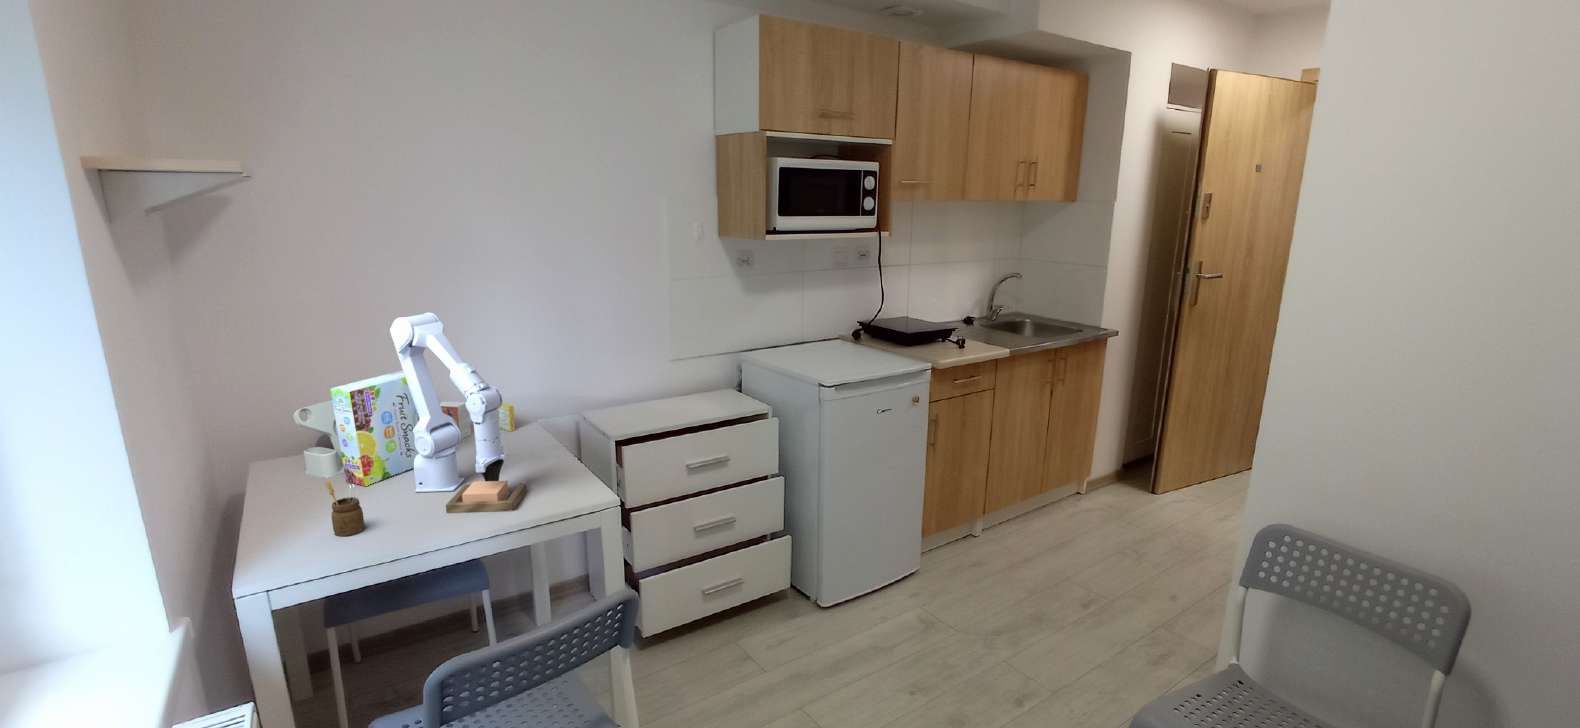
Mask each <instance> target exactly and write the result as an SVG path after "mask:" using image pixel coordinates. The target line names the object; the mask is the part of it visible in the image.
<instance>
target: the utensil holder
mask: <svg viewBox="0 0 1580 728" xmlns="http://www.w3.org/2000/svg"><path fill="white" fill-rule="evenodd" d="M324 484H325V486H326V487H325V488H327V491H328V494H329V495H330V496H332V499H333V502H332V503H331V510H332V512H331V515H330V516H331V525H332V528H333V529H332V530H333V532H334V534H335V535H336V536H337V537H348V536H353V535H356V534H358V533H360V532H362V531H363V530H364V529H365V518H364V512H363V508H362V506H361V505H360V504H361V503H360V500H359V498H358V497H356V496H353V497H352V496H347V495H345V497H343V498H338V499H337V498H336V496H335V489H334V488H333V485H332V483H331V481H330V478H327V480H325V481H324ZM351 486H352V487H353V493H355V491H356V489H357V491H356V495H358V493H359V490H358V489H359V487H358V486H357V484H353V483H350V484H349V485H347V486H346V489H345V491H346V492H347V491H348V487H349V489H351V488H352V487H351ZM355 487H356V489H355ZM348 494H351V490H349V492H348Z"/></svg>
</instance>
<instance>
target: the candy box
mask: <svg viewBox="0 0 1580 728" xmlns="http://www.w3.org/2000/svg"><path fill="white" fill-rule="evenodd" d="M514 412H515V411H514V405H511V404H507V403H503V402H502V405H501V406H500V407H499V408H498V416H499V427H500V430H503V431H507V432H510V433H511V432H513V431H515V413H514Z"/></svg>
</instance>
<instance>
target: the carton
mask: <svg viewBox="0 0 1580 728" xmlns="http://www.w3.org/2000/svg"><path fill="white" fill-rule="evenodd" d="M470 484H471V485H470ZM470 484H469V485H470V486H469V487H468V488H467V490H466V491H465V492H464V493H463V494H462V499H463V502H481V501H507V499H508V497H509V487H508V480H499V481H485V480H483V481H482V480H481V481H479V480H478V481H473V482H472V483H470Z"/></svg>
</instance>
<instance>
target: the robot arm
mask: <svg viewBox="0 0 1580 728" xmlns="http://www.w3.org/2000/svg"><path fill="white" fill-rule="evenodd" d="M444 330H445V326H444V324H443V323H442V322H441V321H440V318H439V317H438V316H437V315H436V314H435V313H433V312H425V313H422V314H421V313H420V314H416V315H410V316H406V317H405V316H404V317H397V318H396V319H394V321H393V322H392V324H391V327H390V329H389V332H390V336H391V338H392V341H393V343H394V347H395V350H396V353H397V358H398V359H399V362H400V365H401V369H402V370H403V372H404V375H405V378H406V381H407V383H408V386H409V389H410V392H411V395H412V398H413V401H414V404H415V407H416V410H417V413H418V416H419V419H420V420H419V422H418V423H417V425H416V426H415V427H414V429H413V432H414V436H415V447H416V449H417V451H418V452H419V453H420V454H417V456H416V457H415V460H414V468H413V471H414V472H413V473H414V481H415V490H414V491H415V493H427V492H429V493H430V492H435V493H436V492H454V491H455V490H456V489H457V488H458V487H459V486H460V485H461V484H462V483H463V482H464V481H465V477H459V472H458V464H457V463H458V461H457V453H456V451H457V450H458V445H460V443H461V440H462V439H461V433H460V430H459V428H458V427H457V426H456V425H455V423H454V420H453V418H452V417H450V416H448V415H446V414H444V413H443V412H442V409H441V406H440V403H441V402H440V401H439V398H438V395H437V392H436V389H435V385H434V383H433V382H434V381H433V380H432V377H431V373H430V371H429V368H428V365H427V362H426V359H425V355H424V352H425V351H426V348H427V349H430V351H432V353H434V355H435V356H436V357H437V358H438V359H439V360H440V361H441V362H442V363H443V364H444V366H446V368H447V369H448V370H449V371H450V374H449V379H450V380H451V382H452V383H453V384H454V385H455V387H456V388H457V389H458V391H459V392H460V393H461V394H462V396H463V397H464V398H465V399H466V402H467V403H465V404H466V408H467V410H468V411H469V416H470V420H471V421H472V422H473V431H474V440H475V441H474V442H475V451H476V455H475V460H476V464H475V465H474V466H475V473H480V474H481V475H482V477H483V479H484V481H500V480H499V479H500V475H501V471H502V467H503V465H504V463H505V462H504V461H505V460H504V458H506V457H507V456H508V453H507V451H506V452H504V448H503V446H504V445H503V444H502V438H501V429H500V427H499V416H498V408H499V407H500V406H501V405H502V403H503V396H502V394H501V392H500V390H499V388H498V387H496V386H492V385H491V384H490V383H487V382H486V381H485V380H484V379H483V378H482V377H481V375H480V374H479V372H478V371H477V370H476V368H475V367H474V366H473V365H472V364H471V363H465V362H463V361H462V358H461V357H460V356H459V354H458V353H457V351H456V350H455V349H454V347H453V345H452V343H450V341H449V339H448V338H447V336H446V335H445V334H444ZM436 426H439V427H436ZM430 429H431V430H430Z"/></svg>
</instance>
